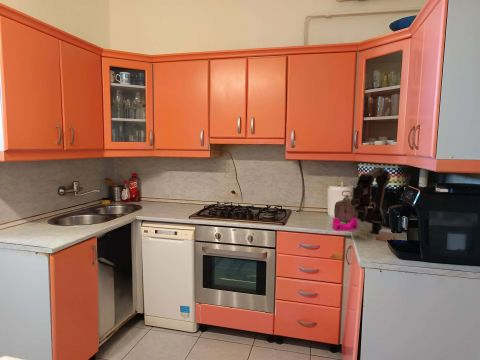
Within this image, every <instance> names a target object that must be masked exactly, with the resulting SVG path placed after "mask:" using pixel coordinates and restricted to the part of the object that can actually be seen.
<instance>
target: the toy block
mask: <svg viewBox="0 0 480 360" xmlns="http://www.w3.org/2000/svg"><path fill="white" fill-rule="evenodd" d="M332 229H333V230H334V231H335V232H345V231H346V232H347V231H348V232H352V231H358V218H357V219H356V218H352V220H351V222H350V223H348V224H346V223H345V224H343V223H342V222H339V219H338V218H335V217H333V218H332Z"/></svg>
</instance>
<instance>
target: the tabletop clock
mask: <svg viewBox="0 0 480 360" xmlns="http://www.w3.org/2000/svg"><path fill="white" fill-rule="evenodd" d="M345 192H346V193H347V192H349V193H350V195H349V194H346V195H345V194H343V193H345ZM341 195H342V196H343V199H342V200H338V201H336V202H335V204H334V209H333V213H334V215H333V216H334V218H338V219H339V222H340V223H345V224H348V223H350V222H351V220H352V218H356V219H357V220H358V218H359V217H358V216H359V213H358V212H357V211H356V210H355V206H357V205H359V204H357V205H354V206H352V204H350V203H351V202H350V201H351V199H352V198H350V197H352V196H353V193H352V192H351V191H350V190H343V191H342V192H341Z"/></svg>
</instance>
